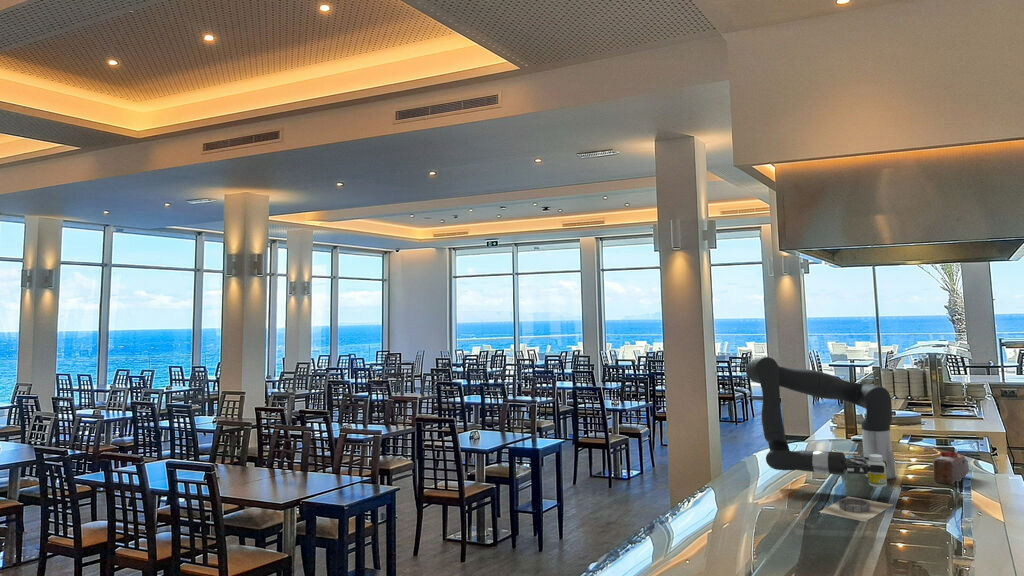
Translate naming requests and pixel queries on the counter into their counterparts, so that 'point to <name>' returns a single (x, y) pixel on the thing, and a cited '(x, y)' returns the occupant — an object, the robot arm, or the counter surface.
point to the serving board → (874, 510)
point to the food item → (950, 467)
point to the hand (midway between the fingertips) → (885, 466)
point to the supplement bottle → (875, 477)
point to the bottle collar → (847, 502)
